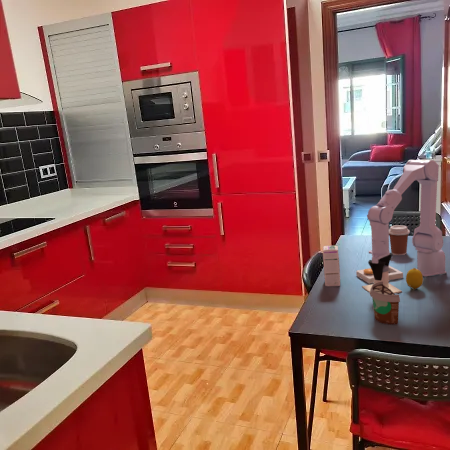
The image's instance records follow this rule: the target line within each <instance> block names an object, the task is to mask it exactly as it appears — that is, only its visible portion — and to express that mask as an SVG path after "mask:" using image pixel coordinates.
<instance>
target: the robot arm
mask: <svg viewBox="0 0 450 450" xmlns="http://www.w3.org/2000/svg"><path fill="white" fill-rule="evenodd" d="M401 174H402V175H401V176H400V178H399V179H398V180H397V182H396V183H395V185H394V187H393V189H388V190H386V191H385V193H384V195H383V196H382V197H381V198H380V200H379V201H378V203H377V204H375V205H373V206H371V207H370V208H369V209H368V212H367V214H366V217H367V220H368V221H369V226H370V227H371V228H370V230H371V249H370V250H368V254H370V255H371V256H372V257H371V259H369V260H368V262H367V263H368V264H367V265H368V266H369V267H370V268H371V269H372V271H373V275H374V278H375V280H380V281H381V279H382V274H383V268H384V265H386V266H388V267H389V266H390V261H391V259H392V257H393V256H394V255H393V253H391V250H390V236H389V229H390V226H389V225H390V224H389V223H390V222H391V221H392V219H393V215H394V214H395V209H396V208H397V207H398V206H399V204H400V203H401V202H402V200H403V196H402V195H403V194H404V193H405V191H406V190H407V189H408V188H409V187H410V186H411V185H412V184H413V183H414V181H416V182H418V183H419V184H420V186H421V187H420V189H421V190H420V208H419V209H420V211H419V213H420V214H419V216H420V217H419V226H417V227H416V228H414V232H413V236H412V239H411V243H412V246H414V248H415V251H417V253H416V254H417V255H416V258H417V261H416V263H417V267H416V269H418V270H419V271H420V272H421V273H422V276H423V277H424V278H425V277H431V276H436V275H443V274H446V273H447V271H446V254H445V252H444V250H443V249H442V248H443V246H444V238H443V232H442V229H440V228H439V227H438V226H436V220H437V219H436V216H437V196H438V194H437V193H438V181H439V164H438V163H437V162H436V161H435V160H433V159H429V160H426V159H425V160H424V159H423V160H419V159H409V160H407V162H406V163H405V165H403V173H401Z"/></svg>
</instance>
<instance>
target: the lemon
mask: <svg viewBox="0 0 450 450" xmlns="http://www.w3.org/2000/svg"><path fill="white" fill-rule="evenodd" d="M423 277H424V276H422V273H421V272H420V271H419V270H418V269H417V267H413V268H411V269H409V270H408V271H407V273H406V276H405V282H406V284H407V286H408V287H409V288H412V289H413V290H414V291H415V290H417V289H419V288H420V287H422V285H423V283H424V278H423Z"/></svg>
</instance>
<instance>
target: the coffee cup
mask: <svg viewBox="0 0 450 450" xmlns="http://www.w3.org/2000/svg"><path fill="white" fill-rule="evenodd" d="M410 232H411V231H410V229H408V226H406V225H403V224H402V225H399V224H395V225H391V226H389V246H390V253H393V255H392V256H405V254H406V255H407V252H408V239H409V234H410Z"/></svg>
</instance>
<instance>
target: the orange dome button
mask: <svg viewBox="0 0 450 450" xmlns="http://www.w3.org/2000/svg"><path fill="white" fill-rule="evenodd" d="M364 273H366V275H373V271H372V269H369V268H364Z"/></svg>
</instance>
